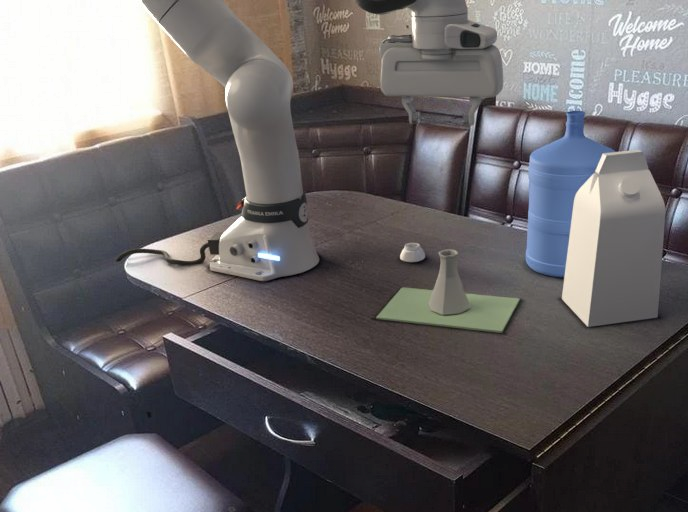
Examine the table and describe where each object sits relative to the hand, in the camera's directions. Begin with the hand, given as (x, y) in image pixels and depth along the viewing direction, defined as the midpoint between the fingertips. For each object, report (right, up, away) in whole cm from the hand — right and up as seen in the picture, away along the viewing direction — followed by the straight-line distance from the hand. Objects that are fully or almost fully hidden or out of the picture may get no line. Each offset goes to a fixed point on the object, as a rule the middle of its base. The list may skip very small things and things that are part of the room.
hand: (441, 124), depth 129 cm
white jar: (-4, -19, +26) cm, 32 cm away
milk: (+28, -31, +2) cm, 42 cm away
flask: (+2, -30, +5) cm, 31 cm away
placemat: (+2, -31, +5) cm, 31 cm away
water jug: (+26, -21, +19) cm, 38 cm away
